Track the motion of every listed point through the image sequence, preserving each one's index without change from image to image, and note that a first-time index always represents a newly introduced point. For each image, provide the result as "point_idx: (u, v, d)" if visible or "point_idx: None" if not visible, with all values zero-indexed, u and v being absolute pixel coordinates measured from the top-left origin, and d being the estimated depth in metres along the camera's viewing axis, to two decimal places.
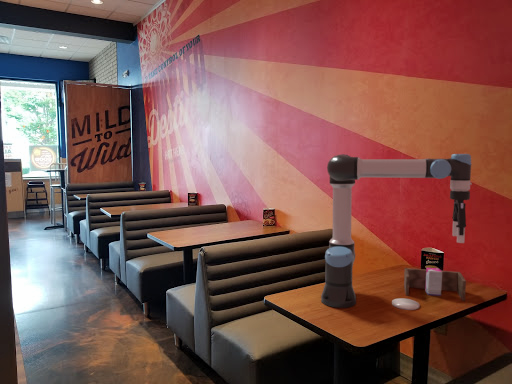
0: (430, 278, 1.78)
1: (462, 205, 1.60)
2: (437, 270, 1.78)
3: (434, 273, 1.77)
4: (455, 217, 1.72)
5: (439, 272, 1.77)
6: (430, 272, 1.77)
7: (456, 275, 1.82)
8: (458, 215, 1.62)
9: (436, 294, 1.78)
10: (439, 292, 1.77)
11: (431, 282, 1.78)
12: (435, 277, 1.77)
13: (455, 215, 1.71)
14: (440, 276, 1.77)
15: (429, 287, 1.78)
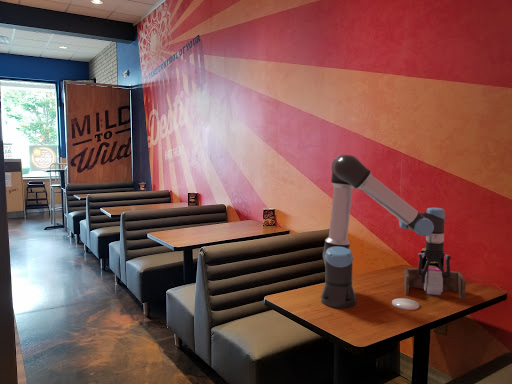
0: (430, 278, 1.78)
1: None
2: (437, 270, 1.78)
3: (434, 273, 1.77)
4: None
5: (439, 272, 1.77)
6: (430, 272, 1.77)
7: (456, 275, 1.82)
8: None
9: (436, 294, 1.78)
10: (439, 292, 1.77)
11: (431, 282, 1.78)
12: (435, 277, 1.77)
13: None
14: (440, 276, 1.77)
15: (429, 287, 1.78)
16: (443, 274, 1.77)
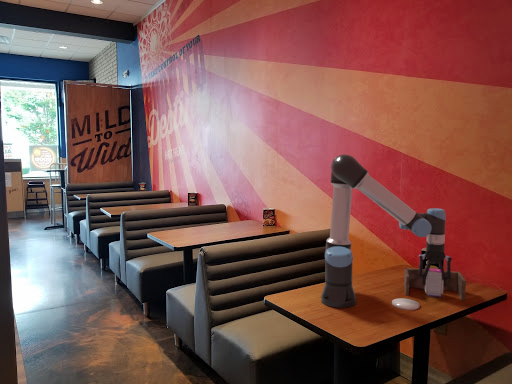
0: (429, 279, 1.76)
1: (419, 257, 1.78)
2: (437, 271, 1.76)
3: (433, 274, 1.75)
4: None
5: (438, 273, 1.75)
6: (429, 273, 1.76)
7: (456, 275, 1.82)
8: (426, 266, 1.79)
9: (436, 295, 1.76)
10: (439, 293, 1.76)
11: (430, 283, 1.76)
12: (434, 278, 1.75)
13: None
14: (439, 277, 1.75)
15: (428, 288, 1.77)
16: (444, 276, 1.75)
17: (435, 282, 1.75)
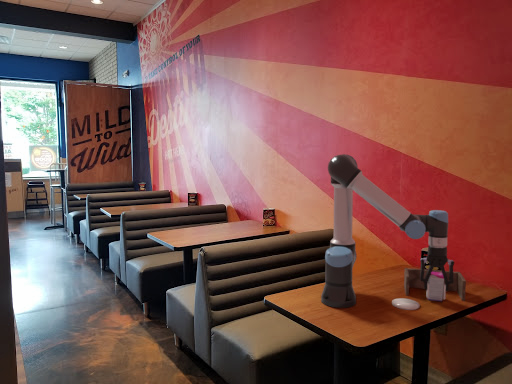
0: (431, 284, 1.70)
1: (420, 260, 1.72)
2: (439, 276, 1.69)
3: (435, 280, 1.68)
4: None
5: (441, 279, 1.68)
6: (431, 279, 1.69)
7: (456, 275, 1.82)
8: (428, 270, 1.72)
9: (437, 300, 1.71)
10: (440, 298, 1.70)
11: (432, 288, 1.70)
12: (436, 284, 1.69)
13: None
14: (442, 283, 1.68)
15: (430, 293, 1.71)
16: (446, 280, 1.68)
17: (437, 287, 1.69)
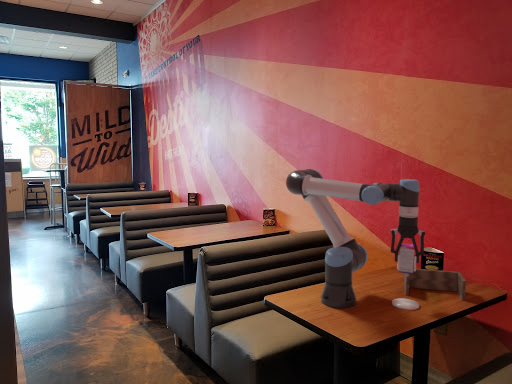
0: (401, 256, 1.65)
1: (391, 231, 1.67)
2: (410, 247, 1.64)
3: (405, 251, 1.63)
4: None
5: (411, 250, 1.63)
6: (401, 250, 1.64)
7: (456, 275, 1.82)
8: None
9: (408, 272, 1.66)
10: (411, 270, 1.65)
11: (402, 260, 1.65)
12: (406, 255, 1.64)
13: (413, 245, 1.65)
14: (412, 254, 1.63)
15: (400, 265, 1.66)
16: (416, 251, 1.63)
17: (407, 259, 1.64)
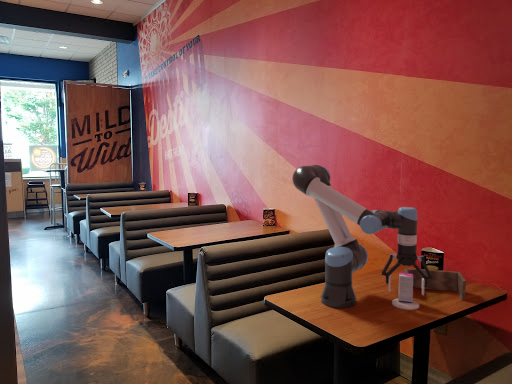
0: (400, 284, 1.68)
1: None
2: (409, 275, 1.68)
3: (404, 278, 1.67)
4: None
5: (410, 277, 1.66)
6: (400, 277, 1.68)
7: (456, 275, 1.82)
8: None
9: (407, 301, 1.67)
10: (410, 299, 1.67)
11: (402, 288, 1.68)
12: (406, 283, 1.67)
13: None
14: (411, 282, 1.66)
15: (400, 293, 1.68)
16: (423, 276, 1.63)
17: (406, 287, 1.67)
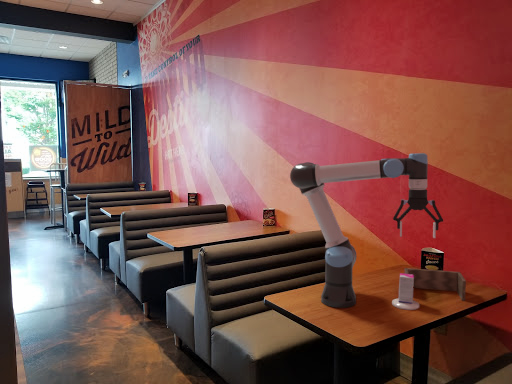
0: (401, 284, 1.67)
1: (401, 201, 1.72)
2: (409, 276, 1.67)
3: (405, 279, 1.67)
4: (431, 217, 1.69)
5: (410, 278, 1.66)
6: (401, 278, 1.67)
7: (456, 275, 1.82)
8: None
9: (407, 302, 1.67)
10: (410, 300, 1.67)
11: (402, 289, 1.67)
12: (406, 283, 1.67)
13: None
14: (411, 283, 1.66)
15: (400, 294, 1.68)
16: (435, 219, 1.67)
17: (407, 288, 1.67)
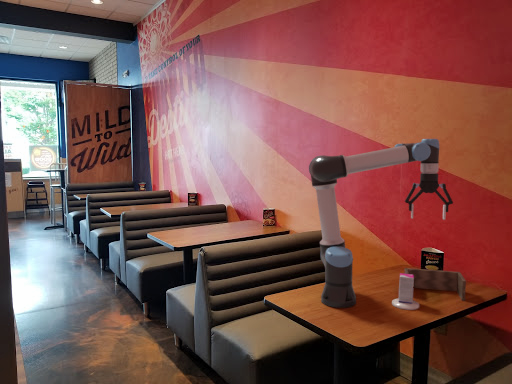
0: (401, 284, 1.67)
1: None
2: (409, 276, 1.67)
3: (405, 279, 1.67)
4: None
5: (410, 278, 1.66)
6: (401, 278, 1.67)
7: (456, 275, 1.82)
8: (416, 194, 1.81)
9: (407, 302, 1.67)
10: (410, 300, 1.67)
11: (402, 289, 1.67)
12: (406, 283, 1.67)
13: (440, 198, 1.78)
14: (411, 283, 1.66)
15: (400, 294, 1.68)
16: (445, 201, 1.76)
17: (407, 288, 1.67)
